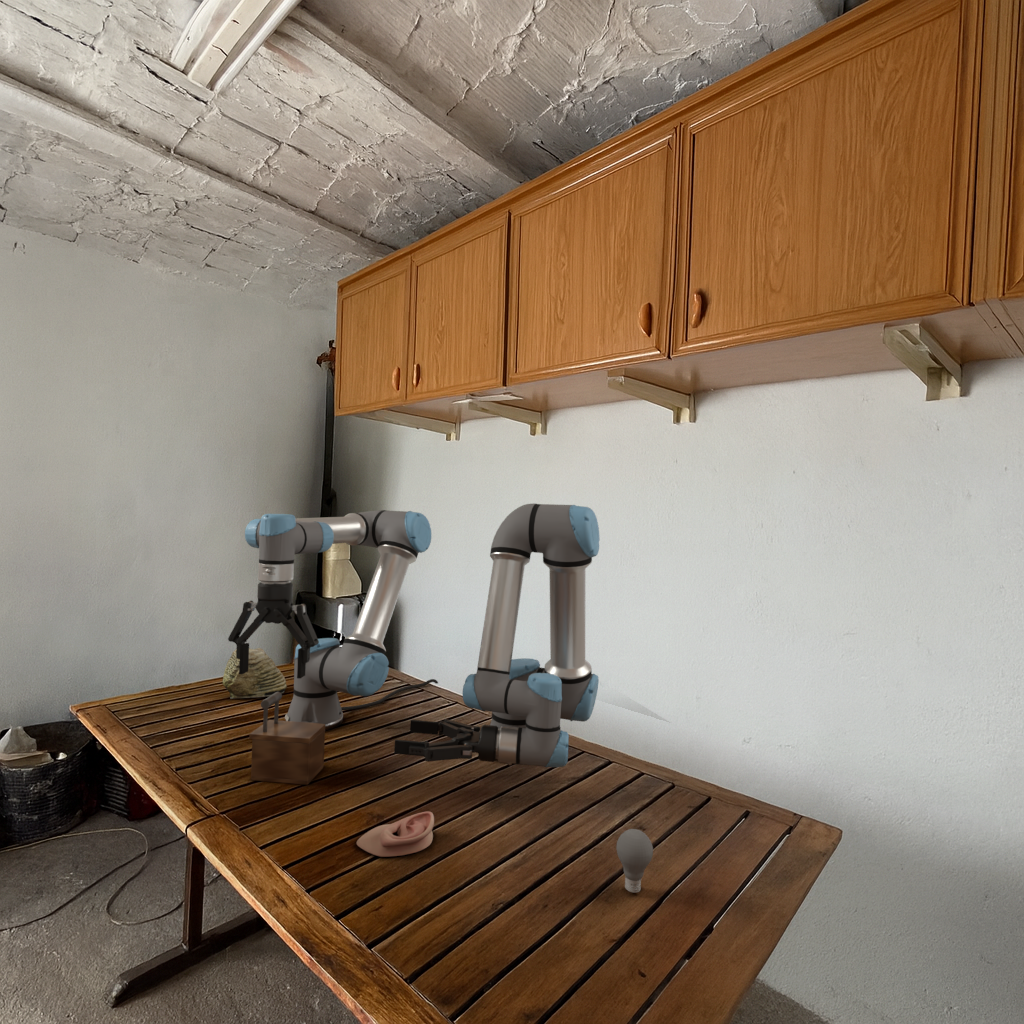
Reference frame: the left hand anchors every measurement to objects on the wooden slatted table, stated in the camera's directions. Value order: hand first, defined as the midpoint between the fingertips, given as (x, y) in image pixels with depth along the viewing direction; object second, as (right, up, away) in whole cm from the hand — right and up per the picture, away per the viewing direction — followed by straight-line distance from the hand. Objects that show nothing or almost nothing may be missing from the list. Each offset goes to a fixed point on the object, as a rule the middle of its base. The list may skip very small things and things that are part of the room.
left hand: (272, 674), depth 144 cm
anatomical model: (+33, -24, -26) cm, 49 cm away
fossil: (-26, -20, +54) cm, 63 cm away
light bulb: (+75, -26, -38) cm, 88 cm away
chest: (+4, -23, 0) cm, 23 cm away
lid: (+4, -13, 0) cm, 14 cm away
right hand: (+30, -13, -3) cm, 33 cm away
